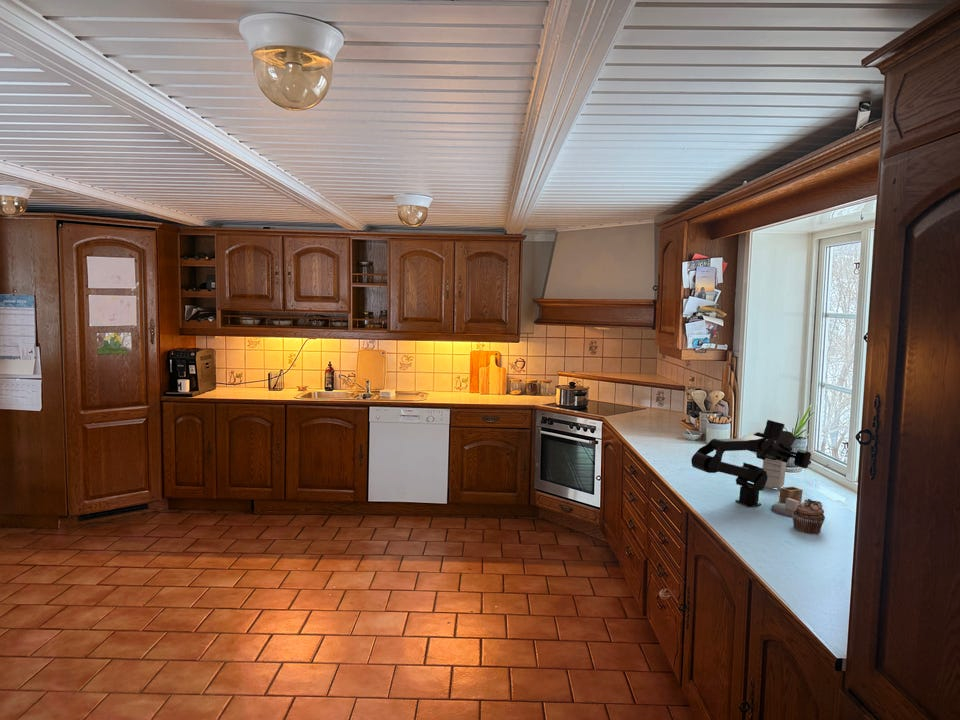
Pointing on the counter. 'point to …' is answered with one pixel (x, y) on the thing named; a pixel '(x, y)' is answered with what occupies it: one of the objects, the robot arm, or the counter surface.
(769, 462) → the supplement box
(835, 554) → the counter surface
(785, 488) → the walnut sleeve
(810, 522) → the cupcake
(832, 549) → the counter surface
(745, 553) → the counter surface
